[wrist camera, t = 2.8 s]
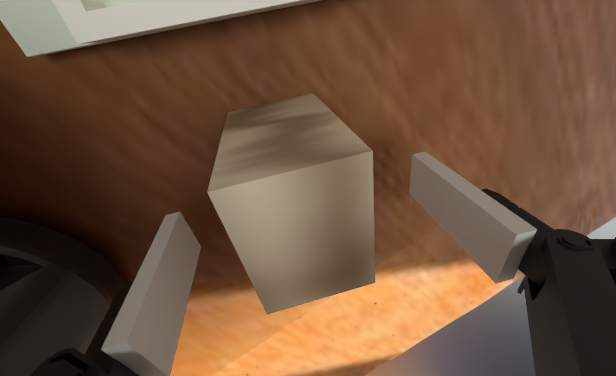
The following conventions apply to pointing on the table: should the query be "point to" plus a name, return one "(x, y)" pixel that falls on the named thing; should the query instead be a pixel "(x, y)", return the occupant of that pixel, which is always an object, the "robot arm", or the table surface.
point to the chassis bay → (114, 19)
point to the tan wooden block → (296, 200)
